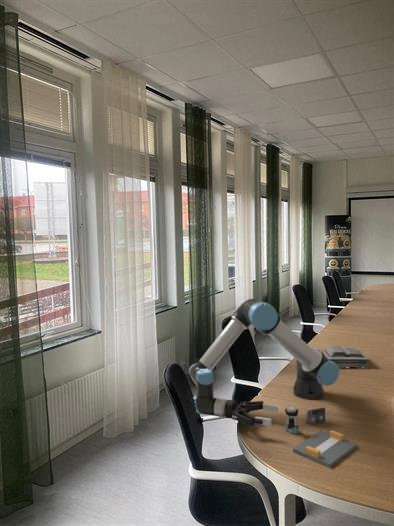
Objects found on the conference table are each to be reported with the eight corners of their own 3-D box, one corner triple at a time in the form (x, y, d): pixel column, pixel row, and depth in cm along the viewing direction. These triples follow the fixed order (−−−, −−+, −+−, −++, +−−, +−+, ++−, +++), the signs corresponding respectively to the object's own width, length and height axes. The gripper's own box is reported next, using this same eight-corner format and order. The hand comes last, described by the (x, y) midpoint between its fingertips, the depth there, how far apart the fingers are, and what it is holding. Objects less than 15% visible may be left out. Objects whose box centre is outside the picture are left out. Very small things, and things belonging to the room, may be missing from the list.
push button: (303, 431, 167) (303, 407, 166) (299, 436, 162) (299, 412, 162) (287, 427, 170) (287, 404, 169) (283, 433, 165) (283, 409, 165)
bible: (320, 357, 268) (320, 342, 268) (364, 360, 261) (364, 344, 261) (322, 368, 246) (322, 352, 245) (370, 371, 239) (370, 355, 238)
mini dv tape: (323, 420, 176) (322, 407, 176) (325, 421, 175) (325, 408, 174) (307, 423, 173) (306, 410, 173) (309, 425, 172) (309, 411, 172)
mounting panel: (321, 433, 164) (321, 425, 164) (356, 446, 153) (357, 438, 153) (292, 451, 151) (292, 443, 151) (329, 467, 140) (329, 458, 140)
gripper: (234, 405, 188) (280, 412, 180) (216, 429, 165) (268, 438, 157) (234, 389, 188) (280, 395, 180) (216, 411, 165) (267, 419, 157)
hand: (274, 415), depth 168 cm, fingers open, 13 cm apart
